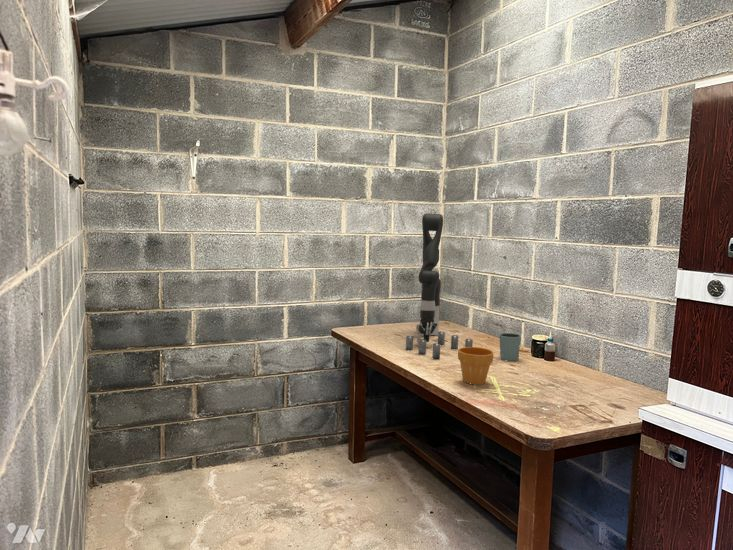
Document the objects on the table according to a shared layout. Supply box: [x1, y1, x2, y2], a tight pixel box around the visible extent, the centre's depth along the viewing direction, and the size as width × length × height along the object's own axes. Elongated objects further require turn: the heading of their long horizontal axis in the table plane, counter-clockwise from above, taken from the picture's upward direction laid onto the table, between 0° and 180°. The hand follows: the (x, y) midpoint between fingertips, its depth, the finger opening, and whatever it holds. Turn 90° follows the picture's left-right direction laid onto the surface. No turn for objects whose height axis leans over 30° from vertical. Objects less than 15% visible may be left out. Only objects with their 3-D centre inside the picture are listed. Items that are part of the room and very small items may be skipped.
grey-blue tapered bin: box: [498, 332, 522, 362], centre depth 254 cm, size 10×10×12 cm
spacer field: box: [405, 331, 474, 360], centre depth 266 cm, size 24×26×7 cm
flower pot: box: [457, 346, 494, 385], centre depth 215 cm, size 14×14×13 cm
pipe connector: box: [408, 326, 424, 347], centre depth 277 cm, size 10×10×10 cm
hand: (426, 341), depth 273 cm, fingers closed
